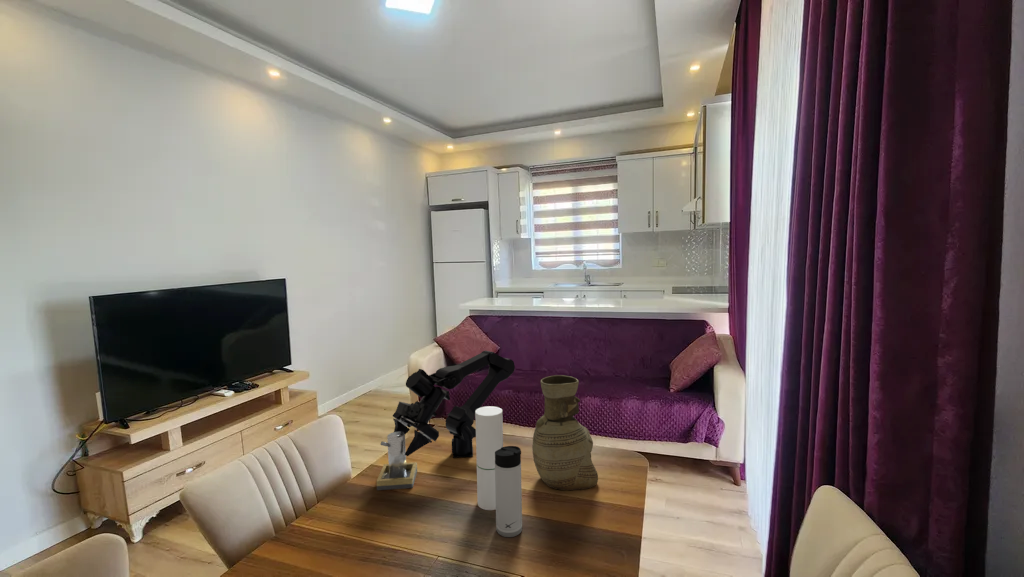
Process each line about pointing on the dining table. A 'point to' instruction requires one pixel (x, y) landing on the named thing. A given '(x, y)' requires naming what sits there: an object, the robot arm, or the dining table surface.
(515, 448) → the travel mug
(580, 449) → the ceramic vessel
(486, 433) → the cylindrical container
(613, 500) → the dining table surface
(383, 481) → the plate
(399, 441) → the spout can
